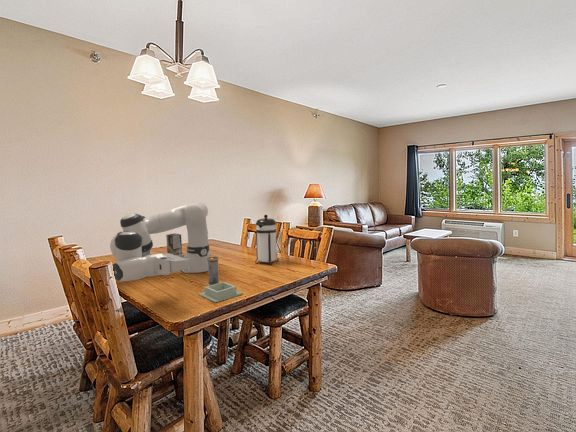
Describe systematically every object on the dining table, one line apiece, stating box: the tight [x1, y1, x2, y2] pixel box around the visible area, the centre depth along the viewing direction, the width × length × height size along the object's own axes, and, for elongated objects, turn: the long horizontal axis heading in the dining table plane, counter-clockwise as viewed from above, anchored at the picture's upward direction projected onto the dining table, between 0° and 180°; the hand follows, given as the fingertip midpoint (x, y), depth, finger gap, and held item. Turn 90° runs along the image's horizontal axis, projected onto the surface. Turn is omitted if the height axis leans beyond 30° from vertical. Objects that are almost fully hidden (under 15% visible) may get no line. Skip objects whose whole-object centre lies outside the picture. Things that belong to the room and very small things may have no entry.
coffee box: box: [165, 233, 183, 255], centre depth 207 cm, size 9×6×16 cm
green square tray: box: [198, 281, 244, 304], centre depth 138 cm, size 14×14×4 cm
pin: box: [207, 256, 220, 286], centre depth 149 cm, size 5×5×14 cm
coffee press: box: [254, 214, 279, 266], centre depth 193 cm, size 17×16×30 cm
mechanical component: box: [142, 249, 151, 257], centre depth 186 cm, size 3×10×10 cm, turn 158°
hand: (188, 257), depth 138 cm, fingers open, 8 cm apart
